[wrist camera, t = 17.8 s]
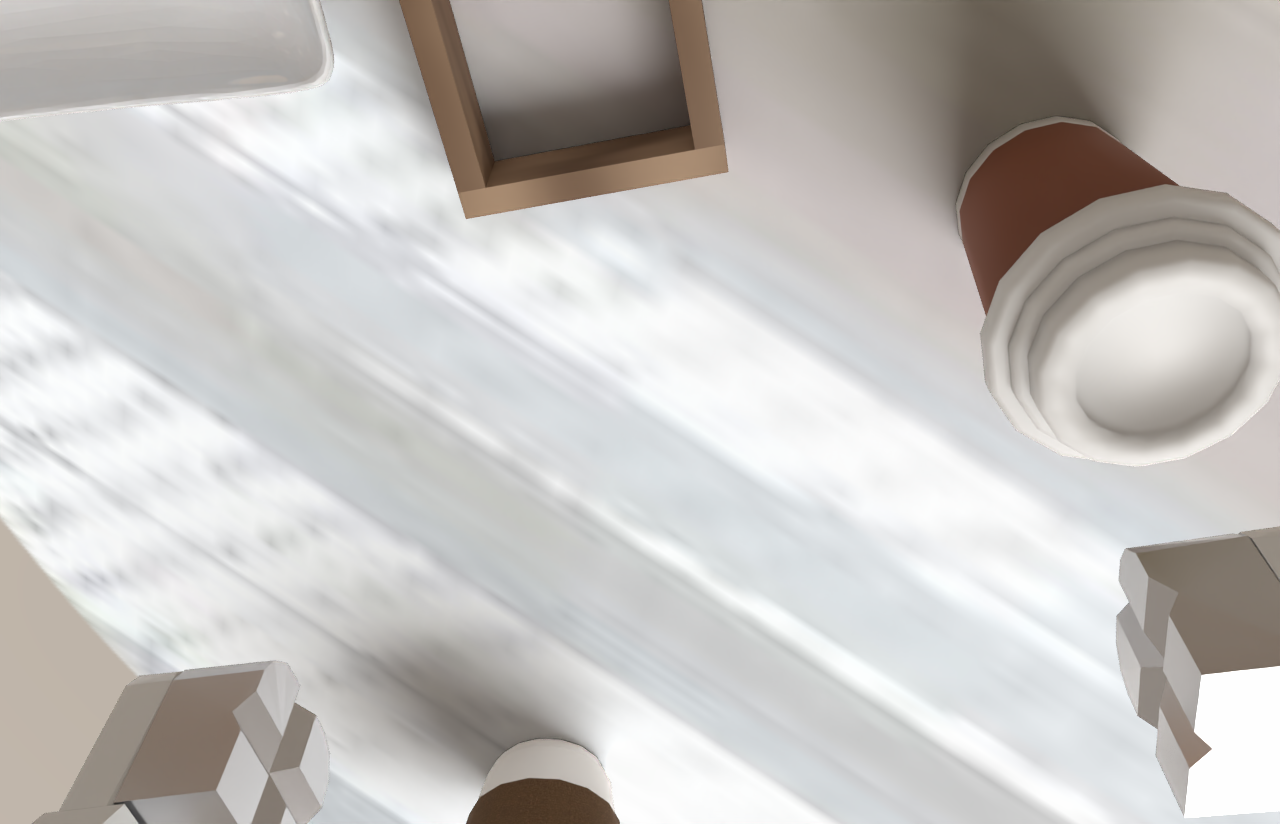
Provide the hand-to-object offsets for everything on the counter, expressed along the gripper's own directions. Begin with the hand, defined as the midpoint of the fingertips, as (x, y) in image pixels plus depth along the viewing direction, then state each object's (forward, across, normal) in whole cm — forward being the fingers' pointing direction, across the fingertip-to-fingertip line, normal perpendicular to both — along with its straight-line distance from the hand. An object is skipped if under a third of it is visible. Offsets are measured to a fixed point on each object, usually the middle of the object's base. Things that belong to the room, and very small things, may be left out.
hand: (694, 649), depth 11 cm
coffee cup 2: (+31, -12, +11) cm, 35 cm away
